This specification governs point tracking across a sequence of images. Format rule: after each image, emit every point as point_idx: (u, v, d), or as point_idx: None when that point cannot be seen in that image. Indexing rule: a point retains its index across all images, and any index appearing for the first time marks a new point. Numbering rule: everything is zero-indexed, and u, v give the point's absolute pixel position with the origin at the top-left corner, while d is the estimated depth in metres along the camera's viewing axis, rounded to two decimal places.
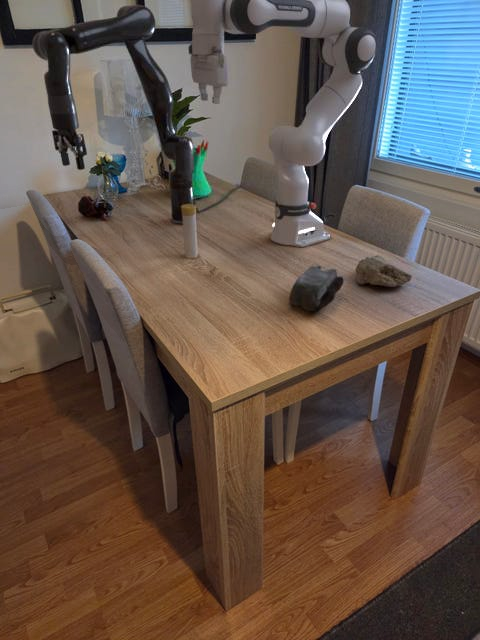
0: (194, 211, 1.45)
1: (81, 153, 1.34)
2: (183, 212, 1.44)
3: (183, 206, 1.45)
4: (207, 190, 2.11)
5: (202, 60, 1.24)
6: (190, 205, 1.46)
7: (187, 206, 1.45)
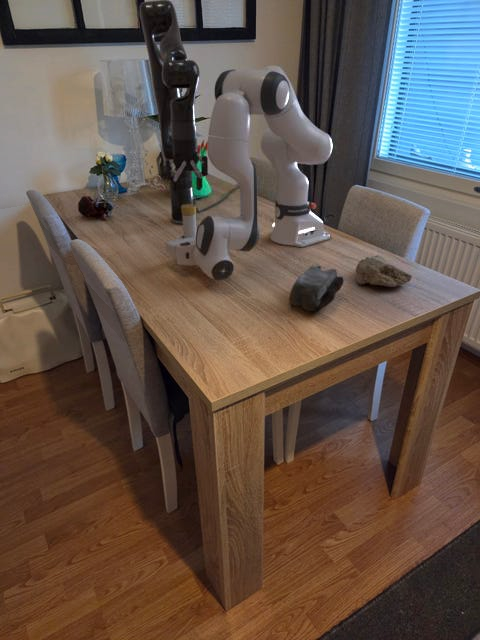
0: (194, 211, 1.45)
1: None
2: (183, 212, 1.44)
3: (183, 206, 1.45)
4: (207, 190, 2.11)
5: None
6: (190, 205, 1.46)
7: (187, 206, 1.45)
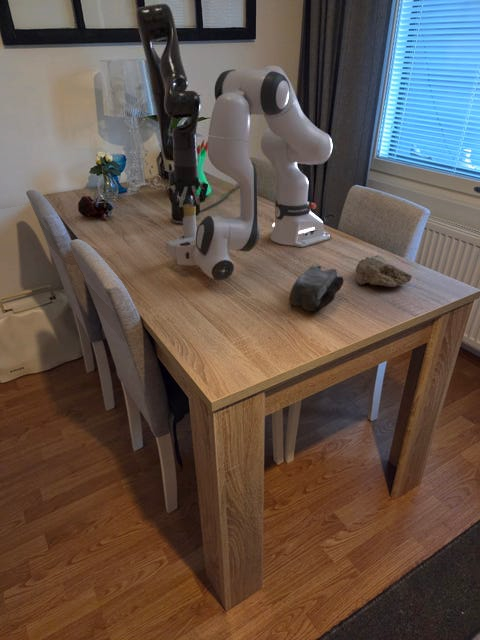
0: (194, 211, 1.45)
1: None
2: None
3: (183, 206, 1.45)
4: (207, 190, 2.11)
5: None
6: (190, 205, 1.46)
7: (187, 206, 1.45)
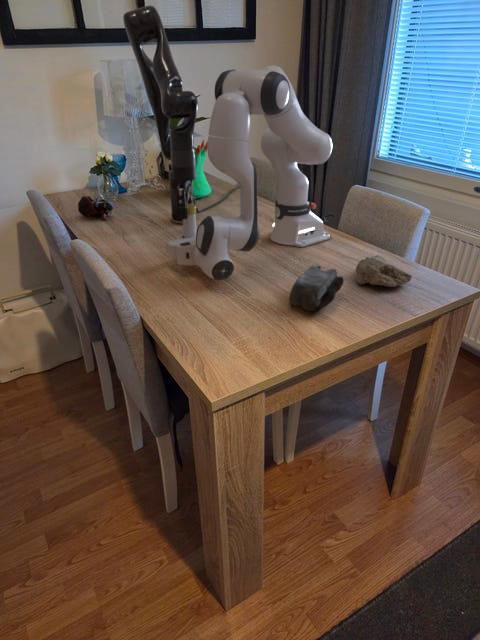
0: None
1: None
2: (193, 211, 1.44)
3: (188, 207, 1.43)
4: (207, 190, 2.11)
5: None
6: None
7: (189, 205, 1.45)
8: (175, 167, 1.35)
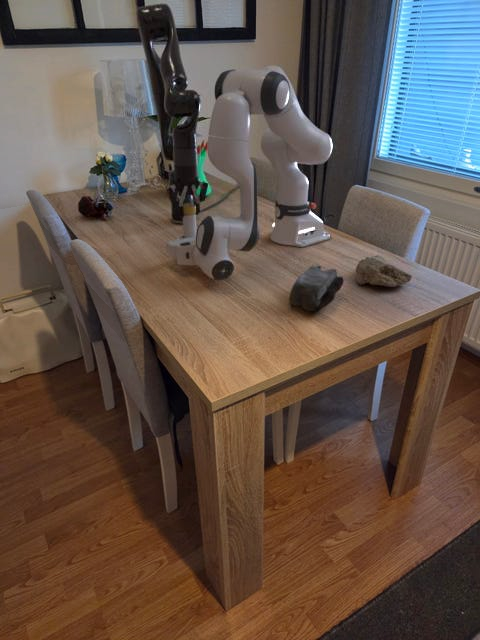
0: None
1: None
2: (193, 211, 1.44)
3: (188, 207, 1.44)
4: (207, 190, 2.11)
5: None
6: (186, 204, 1.45)
7: (189, 205, 1.45)
8: None
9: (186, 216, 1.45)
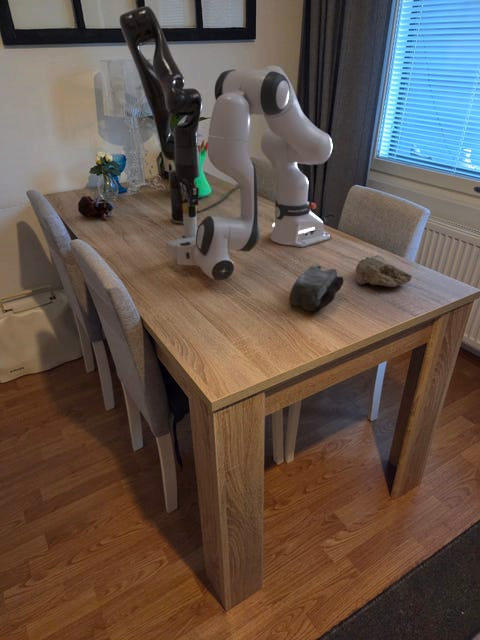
0: None
1: None
2: None
3: None
4: (207, 190, 2.11)
5: None
6: (187, 205, 1.44)
7: None
8: (184, 165, 1.35)
9: (187, 216, 1.45)
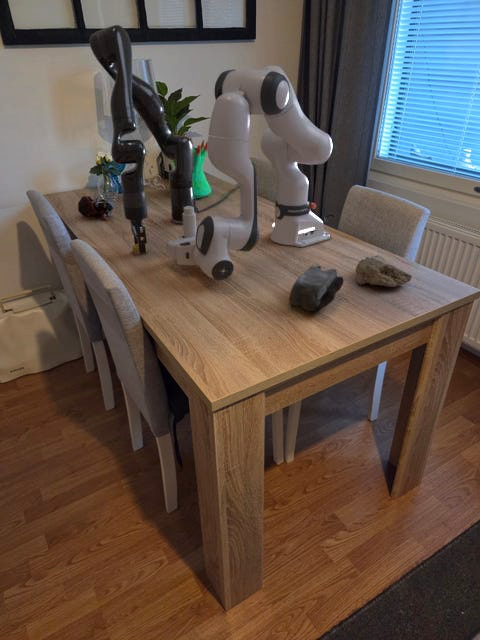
0: None
1: None
2: None
3: None
4: (207, 190, 2.11)
5: None
6: (137, 246, 1.55)
7: None
8: (131, 208, 1.45)
9: (186, 216, 1.45)
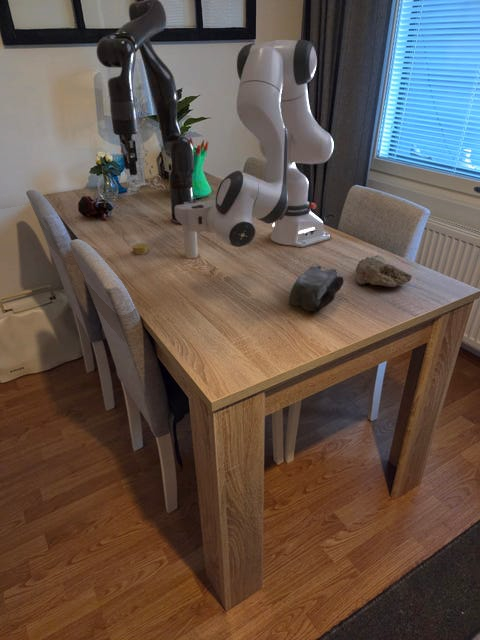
0: None
1: None
2: None
3: (144, 245, 1.56)
4: (207, 190, 2.11)
5: None
6: (137, 246, 1.55)
7: (140, 245, 1.56)
8: (120, 120, 1.31)
9: None
